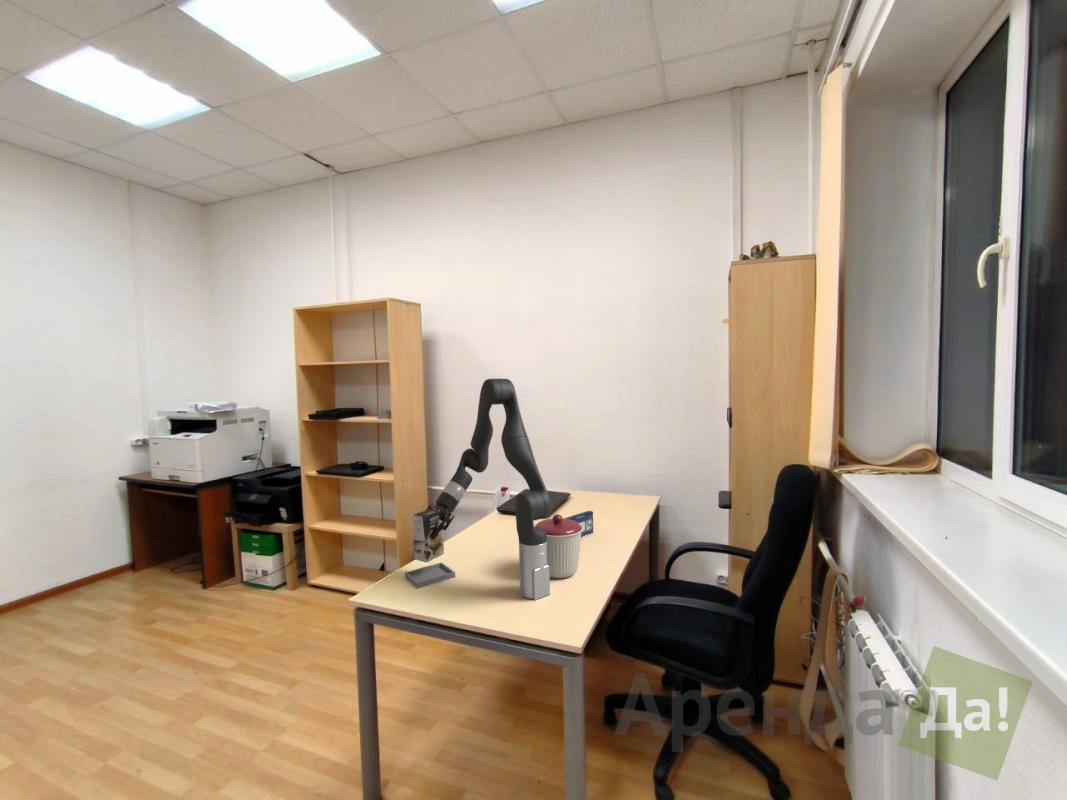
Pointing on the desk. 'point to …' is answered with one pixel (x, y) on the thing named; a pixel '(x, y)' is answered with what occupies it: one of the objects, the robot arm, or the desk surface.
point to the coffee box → (427, 536)
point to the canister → (562, 545)
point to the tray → (429, 575)
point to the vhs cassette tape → (584, 521)
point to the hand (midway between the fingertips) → (425, 535)
